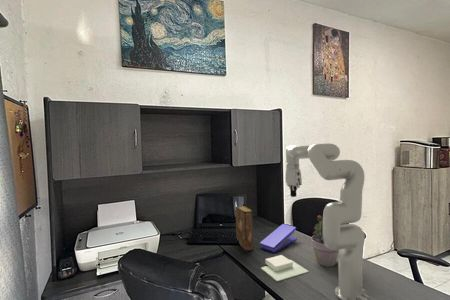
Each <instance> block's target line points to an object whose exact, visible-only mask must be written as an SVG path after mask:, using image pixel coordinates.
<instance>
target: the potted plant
mask: <svg viewBox="0 0 450 300" xmlns="http://www.w3.org/2000/svg"><path fill="white" fill-rule="evenodd" d="M316 221H318V223H316V224H314V230H315V231H313V235H312V236H311V238H310V241H311V247H312V248H313V251H314V256H315V259H316V260H315V261H316V263H317V264H318V265H320V266H323V267H333V266H336V262H337V260H338V253H339V250H331V249H329V248H327V247H326V245H325V243H324V240H323V216H321V215H320V214H319V215H317V220H316Z"/></svg>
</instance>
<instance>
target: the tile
mask: <svg viewBox="0 0 450 300" xmlns="http://www.w3.org/2000/svg"><path fill="white" fill-rule="evenodd" d="M264 260H265V264H266V266H270V267H271V268H272V269H273V270H275V271H276V272H277V271H280V270H284V269H287V268H291V267H293V262H292V261H293V260H292V261H290V260H291V259H289V258H287V257H285V256H284V255H282V254H279V255H276V256H273V257H267V258H265V259H264Z"/></svg>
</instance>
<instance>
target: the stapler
mask: <svg viewBox="0 0 450 300" xmlns="http://www.w3.org/2000/svg"><path fill="white" fill-rule="evenodd" d="M296 230H297V227H296V226H292V225H289V224H284V223H282V224H281V225H279V226H278V227H277V228H276V229H275V230H273V231H272V232H271V233H270V234H269V235H267V236H266V237H265V238H263V239H262V240H261V241H260V242H259V245H260V247H261V249H263V250H265V251H269V252H272V253H274V254H275V253H277V252H278V251H280V250H282V249H283V248H285V247H287V246H289V245H290V244H292V243H294V242H296V241H297V240H298V238H297V237H293V236H292V235H294V234H295V231H296Z"/></svg>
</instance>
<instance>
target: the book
mask: <svg viewBox="0 0 450 300" xmlns="http://www.w3.org/2000/svg"><path fill="white" fill-rule="evenodd" d="M234 209H235V239H236V238H237V240H238V241H239V244H240V245H239V244H238V245H239V246H240V247H241V248H243V249H244V250H245V251H246V250H247V251H249V250H250V251H253V250H254V228H253V226H254V223H253V222H254V220H253V218H254V217H253V210H252V209H250V208H248V207H247V206H244V205H241V206H235V208H234Z"/></svg>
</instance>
